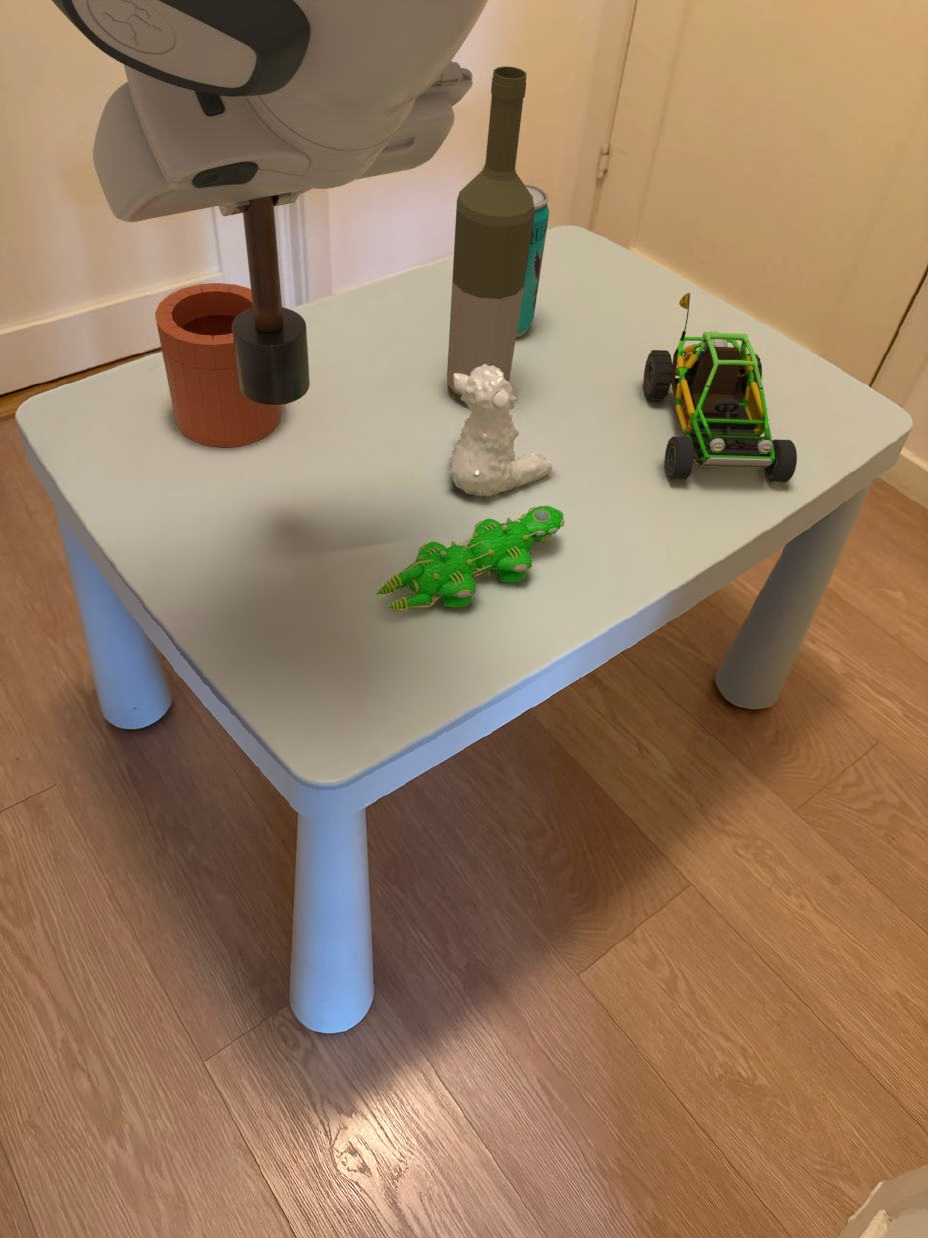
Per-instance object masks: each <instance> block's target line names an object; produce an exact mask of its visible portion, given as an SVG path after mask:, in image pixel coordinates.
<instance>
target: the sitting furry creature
mask: <svg viewBox="0 0 928 1238" xmlns="http://www.w3.org/2000/svg"><path fill="white" fill-rule="evenodd" d="M503 376H504V373H503V372H501V370H500V369H499V368H496V367H495V366H493V365H492V366H488V365H487V364H483V365H482V366H481V367H477V368H475V369H474V370H473V371H472V372H471V373H470V376H468V375H465V374H461V373H454V388H455V389H456V390H457V391H459V392H462V397H461V400H462V401H464V402H465V403H464V404H466V405H467V406H468V409H469V411H471V412H470V415H469V417H468V418H466V419H465V420H464V426H463V427H462V428H461V433H460V438H459V439H458V441H457V444H456V445H455V446H454V447H453V450H452V452H451V453H452V454H451V457H450V458H449V460H450V461H449V462H448V467H449V469H450V472H449V473H450V477H451V479H452V481H453V482H454V484H455V487H456V488H458V489H460V490H463V492H464V493H466V494H468V495H473V496H476V497H486V498H490V497H492V496H497V495H499V494H500V493H505V492H507V491H511V490H512V489H514V488H518V487H521V486H526V484H530V483H531V482H532V483H533V482H536V481H538V480H541V479H543V478H544V477H546V476H547V475H549V474H550V473H551V472H552V470H553V465H552V461H551V460H550V459H546V456H545V455H544V454H541V453H535V452H532V451H531V452H530V453H524V454H522V455H521V456H519V457H517V458H515V457H516V454H515V450H514V447H515V444H514V442H515V440H516V438H517V437H518V436H519V434H520V432H519V430H518V429H517V428H516V427H515V424H514V421H513V415H512V414H511V410H513V409H514V408H515V402H516V401H517V398H516V396H514V393H513V391H514V388H513V387H512V385H511V383H510V381H509V382H508V381H506V380H505V379H504V377H503Z"/></svg>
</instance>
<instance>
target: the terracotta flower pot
mask: <svg viewBox="0 0 928 1238" xmlns="http://www.w3.org/2000/svg"><path fill="white" fill-rule="evenodd" d="M252 308H253V304H252V295H251V288H249V287H246V286H243V285H239V284H234V283H221V282H217V283H216V282H211V283H199V284H195V285H190V286H186V287H181V288H180V289H178V290H176V291H173V292H172V293H169V294H168V295H167V296H166V297H165V298H163V299H162V300H161V301H160V302H159V303H158V305H157V307H156V310H155V312H154V313H155V314H154V317H155V322H156V328H157V332H158V338H159V342H160V343H159V344H160V348H161V353H162V358H163V364H164V369H165V373H166V379H167V384H168V389H169V390H168V391H169V395H170V400H171V404H172V410H173V416H174V420H175V424H176V425H177V428H178V429H179V431H180V432H181V433H182V434H183V435H184V436H185V437H187V438H188V439H190V440H191V441H194V442H196V443H198V444H200V445H205V446H208V447H209V446H210V447H216V448H236V447H240V446H245V445H250V444H253V443H256V442H258V441H260V440H263V439H264V438H265V437H267V436H269V435H270V434H271V433H273V431H274V430H276V428H277V427H278V425H279V423H280V420H281V418H282V417H281V416H282V405H265V404H260V403H256V402H254V401H252V400H250V399H248V398H247V397H245V396H244V395H243V393H242V392H241V390H240V388H239V380H238V372H237V365H236V357H235V349H234V341H233V333H232V323H233V321H234V319H235V318H236V317H237V316H238V315H239V314H241V313H242V312H244V311H246V310H249V309H252Z"/></svg>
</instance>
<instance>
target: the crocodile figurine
mask: <svg viewBox="0 0 928 1238" xmlns="http://www.w3.org/2000/svg"><path fill="white" fill-rule="evenodd" d="M565 523H566V521H565V520H564V513H563V511H562V510H560V509H557V508H556V507H555V508H554V507H553V506H549V505H540V506H536V507H530V508H529V509H528V512H526V513H522V515H521V516H520V517H519V518H517V519H514V520H512V519H511V518H510V517H507V518H506V522H502V523H501V522H499V521H497V520H496V519H493V518H486V519H483V520H479V521H478V522H476V523H475V525H474V531H473V532H472V537H471V538H469V539H467V540H464V541H461V542H459V543H456V542H455V540H451V544H450V546H449V547H447V546H445V545H443V544H442V543H439V542H437V541H430V542H427V543H424V544H422V545H421V546H420V547H419V548H418V554H417V556H416V558H415V561H414V562H413V563H412V564H410V565H409V566H407V567H406V568H405V569H403V571H401V572H399V574H396V573H394V574H393V576H392V577H390V579H388V580H387V581H386V582H384V584H383V586H380V588H379V589H378V591H377V592H376V593H375V595H376V596H379V595H380V596H387V595H390V594H395V592H396V591H397V590H401V589H403V588H406V587H408V590H410V592H412V595H410V596H408V597H405V596H403V597H401V599H400V598H398V599H397V600H395V601H393V602H391V603H390V605H388V606H387V607H386V609H388V610H390V609H391V610H393V611H394V610H395V611H399V610H400V611H402V610H404V611H407V609H408V608H415V609H416V608H430V607H432V606H433V605H434V604H435V603H436V602H437V601H438V600H439V599H440V598H441V597H442V598H443V601H444V607H448V608H464V607H467V606H468V605H470V604H471V602H472V600H473V597H472V595H474V594H475V593H476V589H477V587H476V586H477V585H476V582H475V580H474V578H475V577H477V576H481V575H482V574H484V573H485V574H486V575H487V576H491V575H492V571H493V570H496V571H497V573H498V575H499V582H502V583H503V582H504V583H519V582H522V581H523V580H524V579H525V577H526V575H527V572H526V571H527V570H531V568H532V566H533V560H532V558H531V555H530V550H531V549H532V548H533V545H534V542H535V543H541V544H547V543H548V542H549V540H548V539H549V538H550V537H551V536H554V535H556V533H558V532H559V530H560V529H561V528H562V527H564V526H565ZM465 543H467V544H465ZM438 595H439V596H438Z"/></svg>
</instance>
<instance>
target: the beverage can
mask: <svg viewBox="0 0 928 1238" xmlns="http://www.w3.org/2000/svg"><path fill="white" fill-rule="evenodd" d="M524 185H525V186H526V188H527V189H528V191H529V192H530V194H531V195H532V196H533V202H534V211H535V218H534V224H533V231H532V237H531V243H530V250H529V256H528V263H527V269H526V276H525V282H524V289H523V295H522V302H521V308H520V314H519V321H518V327H517V334H516V339H518V338H520V337H522V336H523V335H524V334H526V333H527V331H528V329H529V328H530V326H531V324H532V323H533V320H534V317H535V311H536V305H537V297H538V291H539V285H540V279H541V278H540V277H541V271H542V265H543V258H544V253H545V252H544V250H545V245H546V238H547V231H548V225H549V217H550V209H549V205H548V203H549V195H548V193H547V192H546V190H544V189H542V188H541V187H539V186H537V185H534V184H529V183H524Z"/></svg>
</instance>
